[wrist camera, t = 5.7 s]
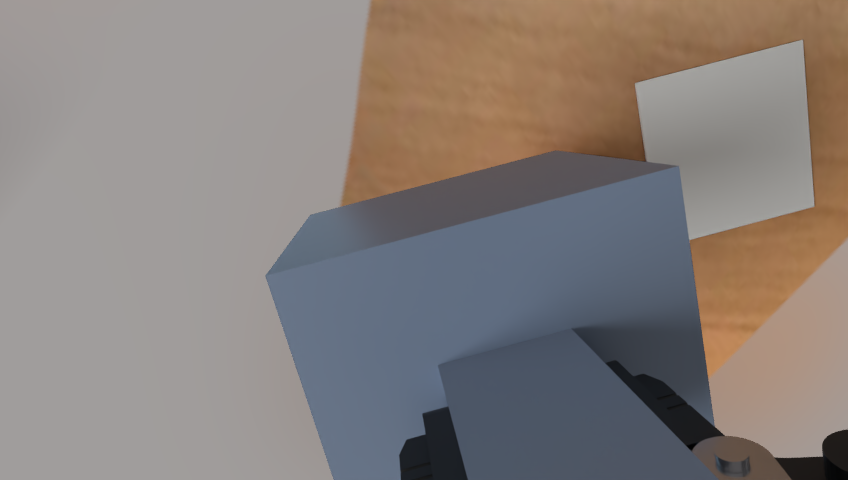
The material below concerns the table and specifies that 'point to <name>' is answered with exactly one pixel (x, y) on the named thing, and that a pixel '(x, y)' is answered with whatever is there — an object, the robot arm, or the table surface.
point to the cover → (501, 320)
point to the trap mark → (733, 137)
